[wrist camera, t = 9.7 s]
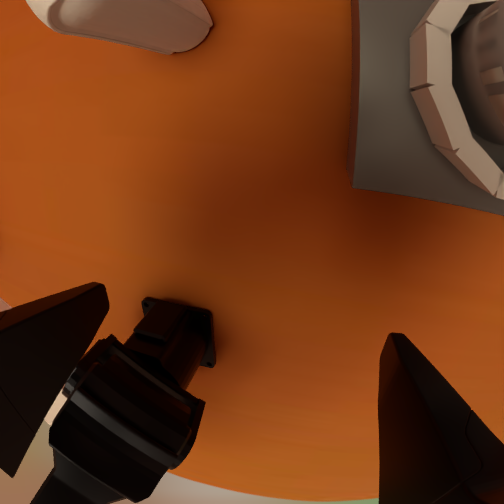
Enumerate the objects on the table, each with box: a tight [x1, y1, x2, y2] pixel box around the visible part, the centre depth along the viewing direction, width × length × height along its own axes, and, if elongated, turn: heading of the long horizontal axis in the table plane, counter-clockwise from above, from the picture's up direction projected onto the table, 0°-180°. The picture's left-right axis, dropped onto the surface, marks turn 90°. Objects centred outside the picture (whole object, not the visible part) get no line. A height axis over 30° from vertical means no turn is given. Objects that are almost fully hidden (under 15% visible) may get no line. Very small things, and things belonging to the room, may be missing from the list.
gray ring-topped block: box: [346, 0, 504, 216], centre depth 10 cm, size 12×14×8 cm
